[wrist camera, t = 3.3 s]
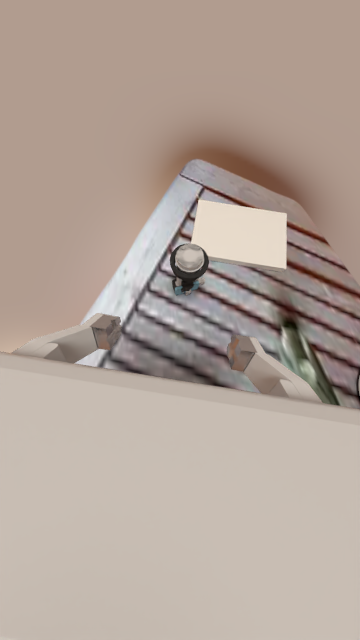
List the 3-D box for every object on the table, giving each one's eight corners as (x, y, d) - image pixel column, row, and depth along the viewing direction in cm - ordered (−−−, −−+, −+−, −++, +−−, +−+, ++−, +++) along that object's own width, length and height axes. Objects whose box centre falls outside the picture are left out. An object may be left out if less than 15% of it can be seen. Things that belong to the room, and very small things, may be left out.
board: (282, 218, 31) (286, 213, 30) (281, 272, 28) (286, 268, 27) (197, 205, 31) (198, 199, 30) (188, 256, 29) (189, 253, 27)
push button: (199, 271, 28) (211, 231, 18) (208, 294, 27) (226, 264, 17) (168, 280, 27) (164, 244, 18) (177, 304, 26) (177, 279, 17)
